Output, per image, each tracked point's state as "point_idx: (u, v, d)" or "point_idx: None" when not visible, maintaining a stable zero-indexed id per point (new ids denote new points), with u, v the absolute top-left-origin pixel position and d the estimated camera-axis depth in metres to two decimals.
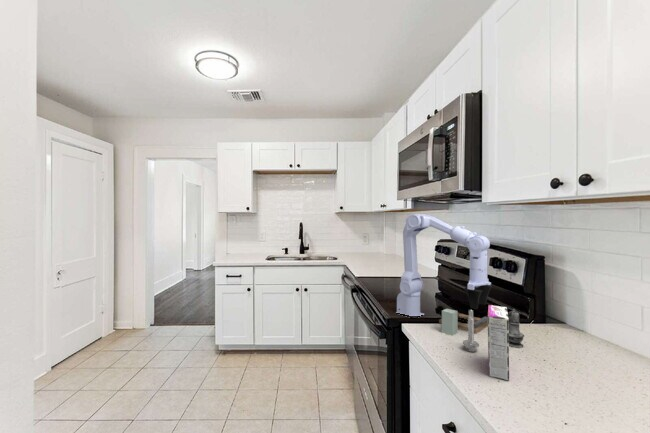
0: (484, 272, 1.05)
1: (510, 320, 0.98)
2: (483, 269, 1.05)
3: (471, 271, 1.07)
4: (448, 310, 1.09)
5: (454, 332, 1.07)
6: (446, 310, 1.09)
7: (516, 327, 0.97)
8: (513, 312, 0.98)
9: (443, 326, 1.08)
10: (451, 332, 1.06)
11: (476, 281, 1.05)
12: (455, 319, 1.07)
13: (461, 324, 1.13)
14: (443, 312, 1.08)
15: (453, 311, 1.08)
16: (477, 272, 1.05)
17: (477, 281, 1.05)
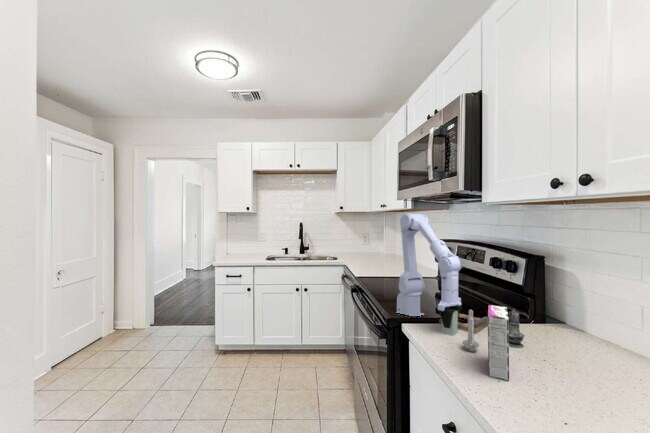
0: (454, 293, 1.06)
1: (510, 320, 0.98)
2: (451, 290, 1.06)
3: (442, 291, 1.08)
4: None
5: (454, 332, 1.07)
6: None
7: (516, 327, 0.97)
8: (513, 312, 0.98)
9: (443, 326, 1.08)
10: (451, 332, 1.06)
11: (447, 301, 1.06)
12: (455, 319, 1.07)
13: (461, 324, 1.13)
14: None
15: None
16: (448, 292, 1.06)
17: (448, 301, 1.06)
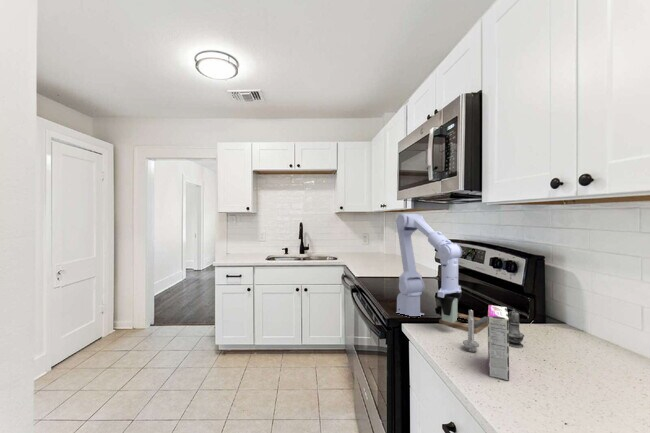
0: (454, 280, 1.06)
1: (510, 320, 0.98)
2: (451, 277, 1.06)
3: (442, 279, 1.08)
4: None
5: (454, 319, 1.07)
6: None
7: (516, 327, 0.97)
8: (513, 312, 0.98)
9: None
10: (451, 319, 1.06)
11: (447, 289, 1.06)
12: (455, 306, 1.07)
13: (461, 324, 1.13)
14: None
15: None
16: (448, 280, 1.06)
17: (448, 289, 1.06)
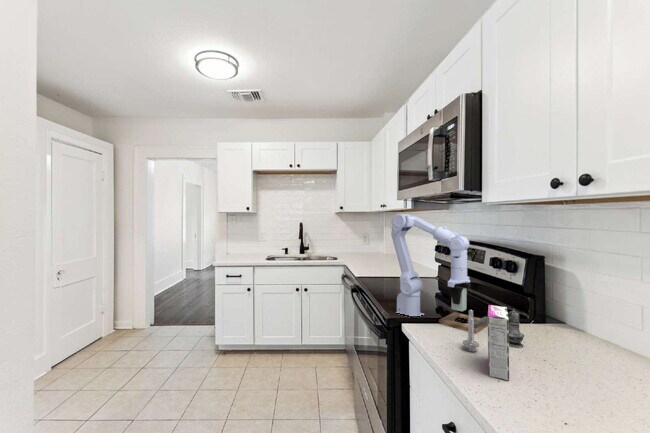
0: (464, 270, 1.11)
1: (510, 320, 0.98)
2: (463, 268, 1.11)
3: (452, 269, 1.13)
4: None
5: (463, 308, 1.12)
6: None
7: (516, 327, 0.97)
8: (513, 312, 0.98)
9: None
10: (461, 308, 1.11)
11: (456, 279, 1.12)
12: (464, 296, 1.13)
13: (461, 324, 1.13)
14: None
15: None
16: (457, 270, 1.12)
17: (457, 279, 1.11)
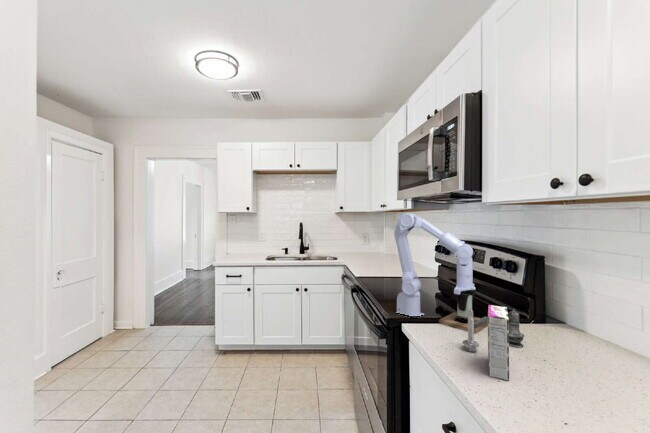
0: (469, 278, 1.15)
1: (510, 320, 0.98)
2: (470, 275, 1.15)
3: (458, 277, 1.17)
4: None
5: None
6: None
7: (516, 327, 0.97)
8: (513, 312, 0.98)
9: None
10: (466, 314, 1.15)
11: (462, 286, 1.15)
12: (470, 303, 1.16)
13: (461, 324, 1.13)
14: None
15: None
16: (463, 278, 1.15)
17: (463, 286, 1.15)
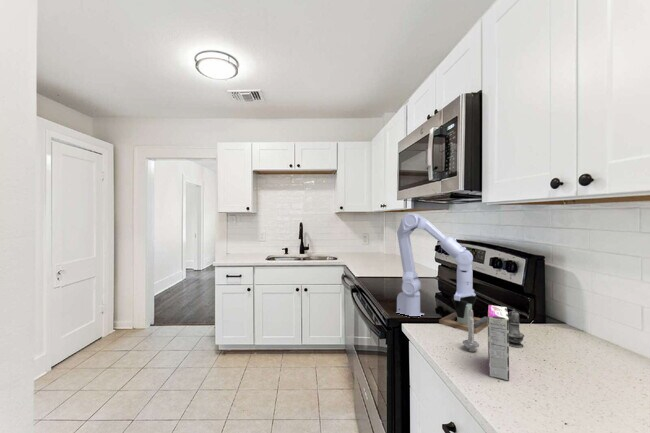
0: (469, 284, 1.15)
1: (510, 320, 0.98)
2: (470, 281, 1.15)
3: (458, 283, 1.17)
4: None
5: None
6: None
7: (516, 327, 0.97)
8: (513, 312, 0.98)
9: (458, 318, 1.17)
10: (466, 323, 1.15)
11: (462, 292, 1.15)
12: None
13: (461, 324, 1.13)
14: None
15: (468, 304, 1.17)
16: (463, 284, 1.15)
17: (463, 292, 1.15)
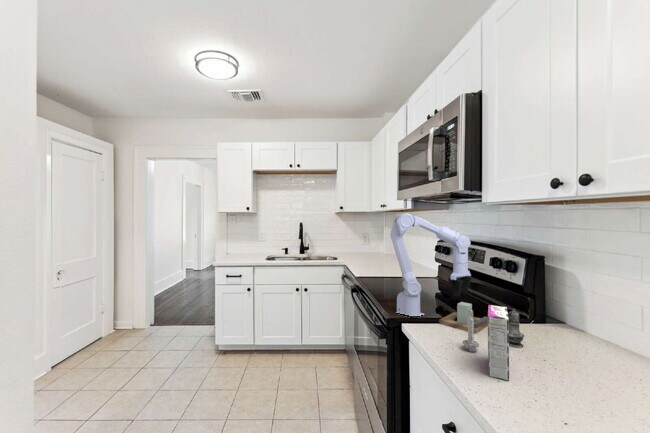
0: (465, 265, 1.24)
1: (510, 320, 0.98)
2: (467, 262, 1.24)
3: (454, 264, 1.26)
4: (463, 303, 1.18)
5: None
6: (461, 303, 1.18)
7: (516, 327, 0.97)
8: (513, 312, 0.98)
9: (458, 318, 1.17)
10: (466, 323, 1.15)
11: (458, 273, 1.24)
12: None
13: (461, 324, 1.13)
14: (458, 305, 1.17)
15: (468, 304, 1.17)
16: (459, 265, 1.24)
17: (459, 273, 1.24)
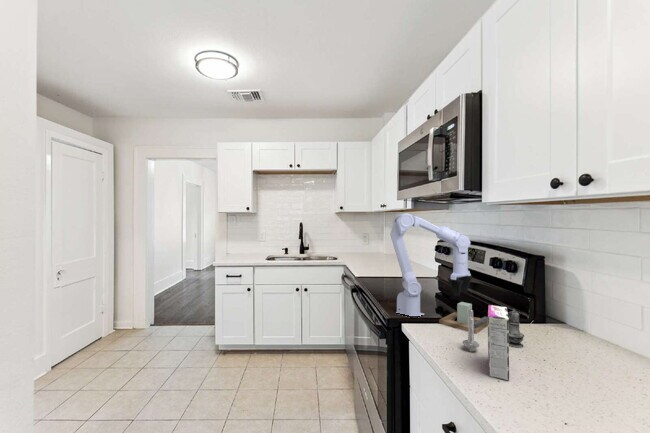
0: (465, 265, 1.24)
1: (510, 320, 0.98)
2: (467, 262, 1.25)
3: (454, 264, 1.26)
4: (463, 303, 1.18)
5: None
6: (461, 303, 1.18)
7: (516, 327, 0.97)
8: (513, 312, 0.98)
9: (458, 318, 1.17)
10: (466, 323, 1.15)
11: (458, 273, 1.24)
12: None
13: (461, 324, 1.13)
14: (458, 305, 1.17)
15: (468, 304, 1.17)
16: (459, 265, 1.24)
17: (459, 273, 1.24)
